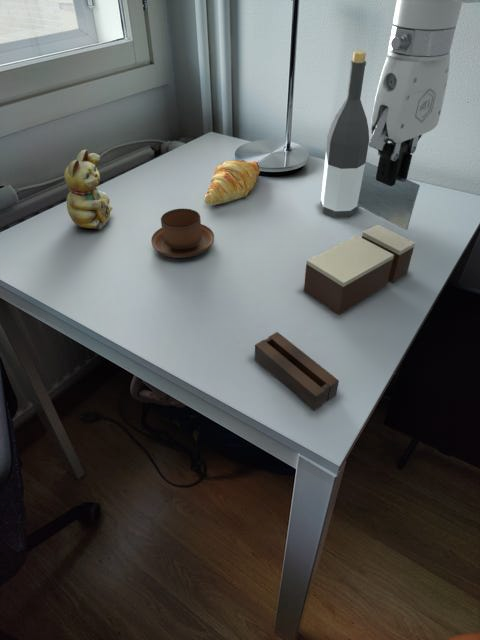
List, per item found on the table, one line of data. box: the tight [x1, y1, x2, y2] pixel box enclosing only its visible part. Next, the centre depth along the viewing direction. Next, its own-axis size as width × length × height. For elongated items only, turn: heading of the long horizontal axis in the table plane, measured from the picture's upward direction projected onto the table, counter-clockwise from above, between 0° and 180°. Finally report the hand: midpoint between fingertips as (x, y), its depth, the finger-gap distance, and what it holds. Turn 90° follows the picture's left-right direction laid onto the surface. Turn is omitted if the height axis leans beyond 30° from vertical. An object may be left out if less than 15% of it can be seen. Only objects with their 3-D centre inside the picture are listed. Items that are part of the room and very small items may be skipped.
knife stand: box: [254, 331, 340, 412], centre depth 63 cm, size 12×4×3 cm, turn 38°
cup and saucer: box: [150, 208, 215, 259], centre depth 88 cm, size 12×12×6 cm
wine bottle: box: [320, 50, 370, 219], centre depth 90 cm, size 8×8×30 cm
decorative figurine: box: [63, 149, 113, 231], centre depth 92 cm, size 10×8×15 cm
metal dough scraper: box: [357, 142, 421, 231], centre depth 71 cm, size 10×2×12 cm, turn 38°
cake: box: [303, 234, 394, 316], centre depth 77 cm, size 8×12×6 cm, turn 128°
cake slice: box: [361, 224, 416, 283], centre depth 81 cm, size 8×4×6 cm, turn 38°
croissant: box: [204, 159, 261, 206], centre depth 105 cm, size 21×10×8 cm, turn 148°
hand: (391, 179), depth 70 cm, fingers closed on metal dough scraper, 2 cm apart
